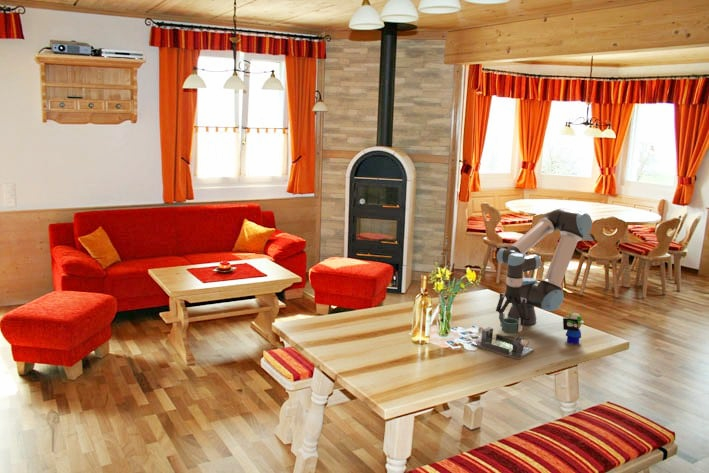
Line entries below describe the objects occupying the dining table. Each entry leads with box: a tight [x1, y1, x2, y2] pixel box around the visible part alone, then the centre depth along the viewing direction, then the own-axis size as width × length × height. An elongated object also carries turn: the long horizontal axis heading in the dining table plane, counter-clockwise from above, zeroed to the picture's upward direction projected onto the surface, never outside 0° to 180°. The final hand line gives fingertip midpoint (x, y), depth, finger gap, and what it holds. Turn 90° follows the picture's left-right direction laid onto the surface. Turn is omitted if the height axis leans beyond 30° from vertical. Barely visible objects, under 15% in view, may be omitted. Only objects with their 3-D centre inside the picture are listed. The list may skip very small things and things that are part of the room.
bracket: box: [499, 312, 520, 335], centre depth 307 cm, size 9×9×9 cm
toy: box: [562, 312, 585, 345], centre depth 303 cm, size 9×9×15 cm
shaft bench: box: [473, 326, 535, 361], centre depth 293 cm, size 15×25×7 cm, turn 47°
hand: (510, 328), depth 308 cm, fingers closed on bracket, 9 cm apart
